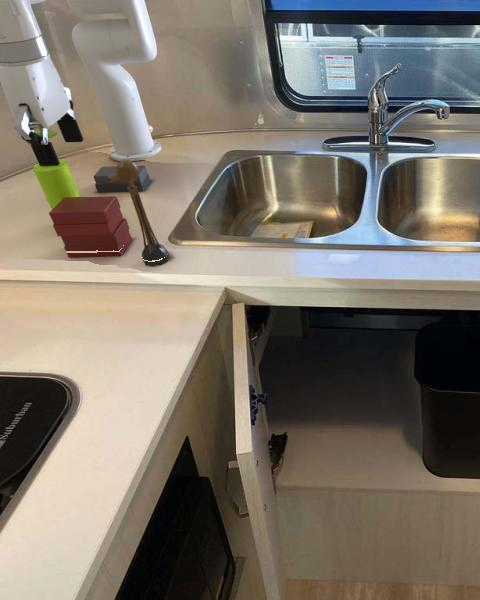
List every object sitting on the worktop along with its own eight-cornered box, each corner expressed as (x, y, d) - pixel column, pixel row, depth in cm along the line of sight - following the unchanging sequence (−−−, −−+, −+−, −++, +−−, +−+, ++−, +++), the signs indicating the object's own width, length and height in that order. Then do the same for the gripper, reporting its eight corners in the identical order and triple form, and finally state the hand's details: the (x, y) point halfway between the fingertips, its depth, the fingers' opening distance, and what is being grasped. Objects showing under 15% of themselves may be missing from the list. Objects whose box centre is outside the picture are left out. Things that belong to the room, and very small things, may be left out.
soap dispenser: (82, 231, 114) (42, 137, 101) (53, 228, 115) (10, 135, 102) (100, 217, 118) (63, 126, 106) (71, 214, 119) (32, 124, 107)
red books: (67, 257, 106) (52, 225, 102) (81, 240, 111) (67, 208, 106) (122, 256, 106) (110, 223, 102) (133, 239, 111) (122, 207, 107)
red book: (53, 224, 102) (48, 213, 100) (68, 208, 106) (63, 197, 105) (108, 223, 102) (104, 211, 100) (120, 207, 107) (116, 195, 105)
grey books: (97, 192, 127) (91, 176, 125) (106, 181, 132) (100, 166, 129) (143, 191, 128) (138, 175, 125) (151, 180, 132) (146, 165, 129)
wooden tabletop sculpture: (147, 272, 102) (111, 171, 90) (133, 263, 104) (96, 164, 92) (175, 257, 106) (143, 159, 93) (160, 249, 108) (128, 152, 95)
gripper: (22, 35, 93) (63, 133, 104) (-37, 67, 79) (16, 176, 90) (68, 35, 93) (103, 133, 104) (16, 66, 79) (63, 175, 90)
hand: (63, 153), depth 97 cm, fingers open, 9 cm apart
